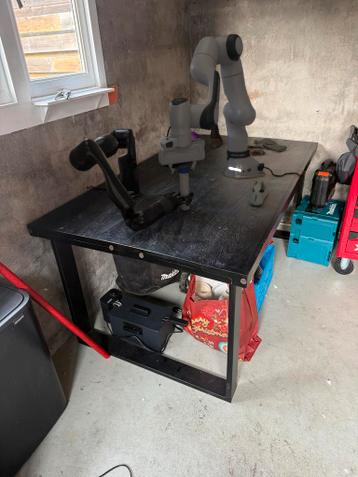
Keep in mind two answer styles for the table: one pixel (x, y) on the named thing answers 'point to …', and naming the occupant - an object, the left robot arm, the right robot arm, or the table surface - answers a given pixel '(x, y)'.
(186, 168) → the lid
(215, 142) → the boot
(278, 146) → the pair of gloves
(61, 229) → the table surface
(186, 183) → the bottle
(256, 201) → the ballet flat
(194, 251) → the table surface
